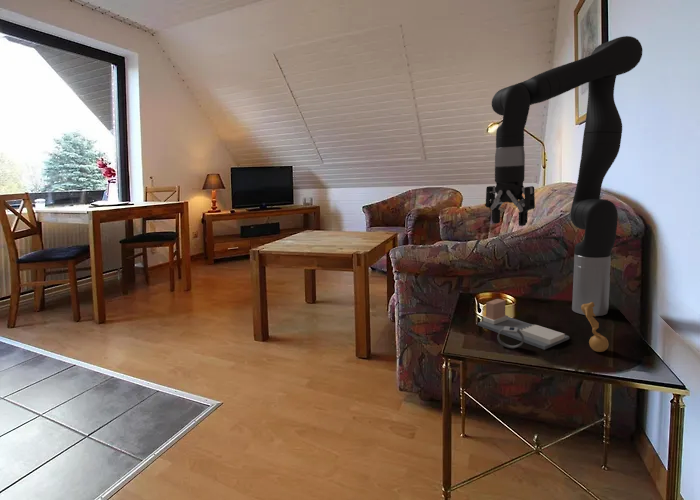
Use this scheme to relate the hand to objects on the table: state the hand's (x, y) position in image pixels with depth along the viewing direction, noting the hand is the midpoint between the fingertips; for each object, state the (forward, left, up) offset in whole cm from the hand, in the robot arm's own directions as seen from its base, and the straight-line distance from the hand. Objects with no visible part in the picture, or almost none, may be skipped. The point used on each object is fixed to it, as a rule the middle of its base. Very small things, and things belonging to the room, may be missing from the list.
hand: (508, 224), depth 119 cm
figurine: (+1, +25, -28) cm, 38 cm away
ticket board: (+4, +7, -28) cm, 29 cm away
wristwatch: (+14, +12, -28) cm, 34 cm away
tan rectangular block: (+4, -1, -28) cm, 28 cm away
